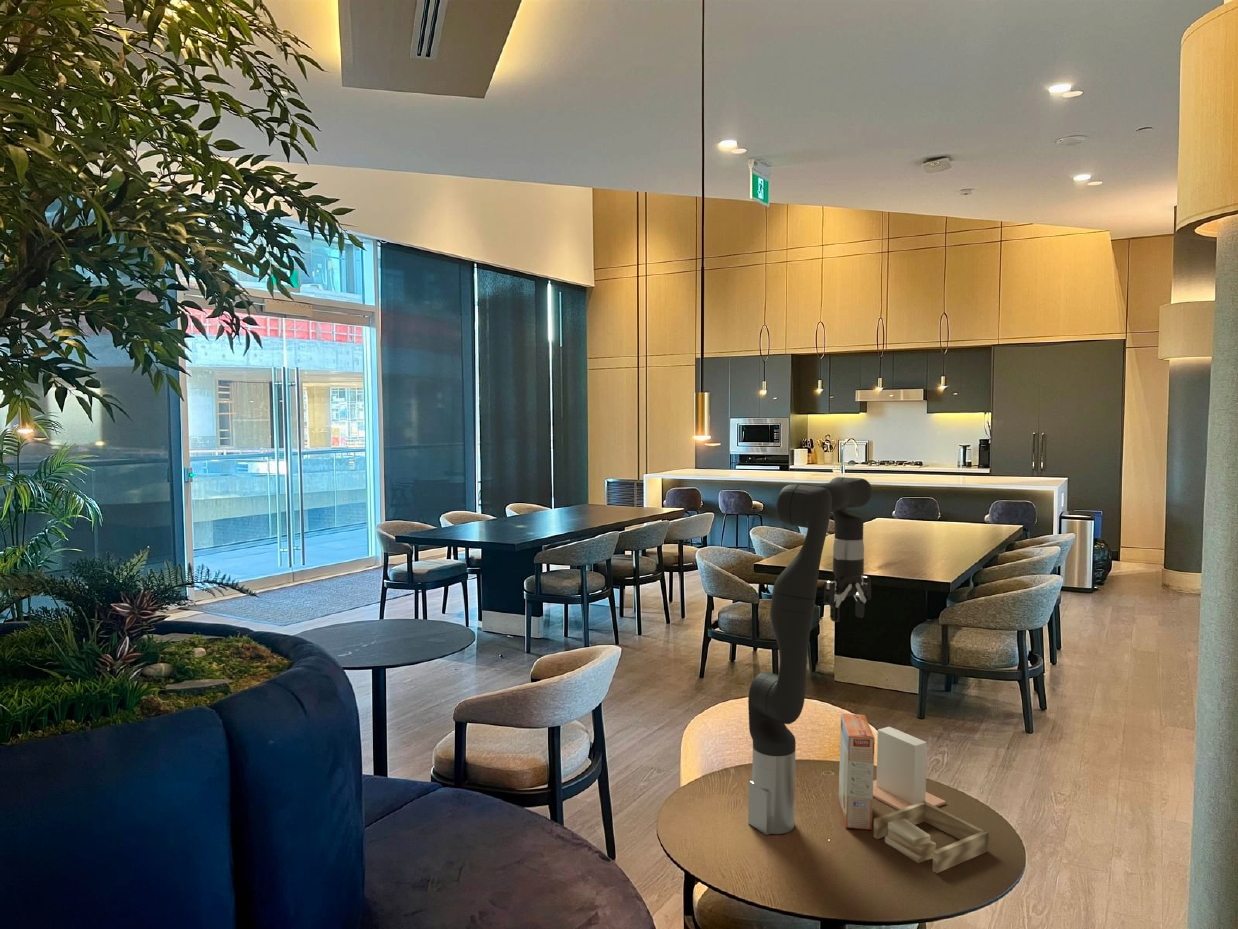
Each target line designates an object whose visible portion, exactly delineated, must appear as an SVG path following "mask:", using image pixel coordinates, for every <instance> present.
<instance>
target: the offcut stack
mask: <svg viewBox="0 0 1238 929" xmlns="http://www.w3.org/2000/svg"><path fill="white" fill-rule="evenodd" d="M888 830H889V831H888V835H887V836H884V842H885V843H886V844H887V845H889V846H890V847H892V848H894V849H895V850H896V851H897V852H900V853H902V854H903V855H904V856H906V857H908V858H909V859H911V860H912V861H914V862H916V863H917V864H919V863H920V864H921V863H923V862H925V861H929V860H933V851H935V850H937V843H936V842H934V841H933V840H931V837H932V836H931V835H930V834H929V833H927V832H926V831H924V830H923V829H921V828H919V827H918V826H917V825H914V824H912V823H911V822H909V821H907V820H906V819H901V820H897V821H892V822H888Z"/></svg>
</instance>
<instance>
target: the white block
mask: <svg viewBox="0 0 1238 929" xmlns="http://www.w3.org/2000/svg"><path fill="white" fill-rule="evenodd" d="M876 744H877V745H876V746H877V747H876V748H877V749H876V780H877V782H876V786H877V787H879V788H880V789H882V790H884V791H886V792H888V793H890V794H892V795H894V796H896V797H898V798H900V799H902V800H904V801H906V802H908V803H910V804H912V805H914V804H917V803H920V802H923V801H925V797H926V792H927V790H926V788H927V760H928V759H927V757H928V756H927V755H928V754H927V752H928V750H927V749H928V748H927V747H928V742H927V741H925V740H923V739H920V738H917V737H915V736H913V735H911V734H908V733H906V732H903V731H901V730H899V729H897V728H893V727H891V726H886V727H882V728H879V729H877V743H876Z"/></svg>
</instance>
